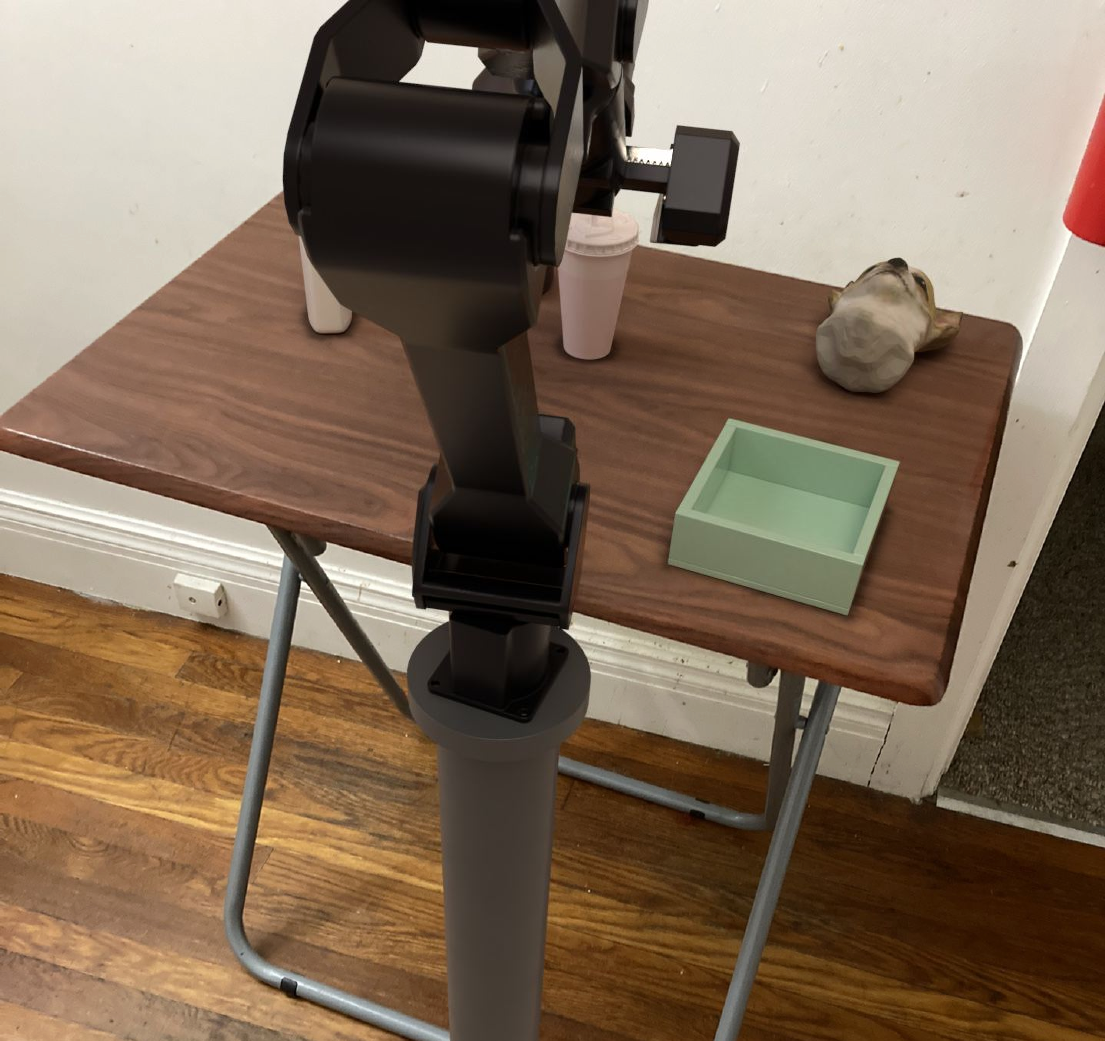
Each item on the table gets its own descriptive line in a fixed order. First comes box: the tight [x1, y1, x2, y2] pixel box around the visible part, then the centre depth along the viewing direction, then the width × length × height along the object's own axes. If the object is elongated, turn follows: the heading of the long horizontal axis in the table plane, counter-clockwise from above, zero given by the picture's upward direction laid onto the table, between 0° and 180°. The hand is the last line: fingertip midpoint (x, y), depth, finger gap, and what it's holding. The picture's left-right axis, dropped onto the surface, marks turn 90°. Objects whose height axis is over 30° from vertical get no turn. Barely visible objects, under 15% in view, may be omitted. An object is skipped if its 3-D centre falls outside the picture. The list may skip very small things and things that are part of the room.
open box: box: [667, 418, 901, 616], centre depth 74 cm, size 12×12×4 cm
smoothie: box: [557, 208, 640, 360], centre depth 86 cm, size 6×6×14 cm
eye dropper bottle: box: [298, 236, 353, 334], centre depth 88 cm, size 4×6×12 cm
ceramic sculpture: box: [815, 257, 964, 394], centre depth 89 cm, size 11×9×15 cm
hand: (587, 227), depth 79 cm, fingers open, 9 cm apart
